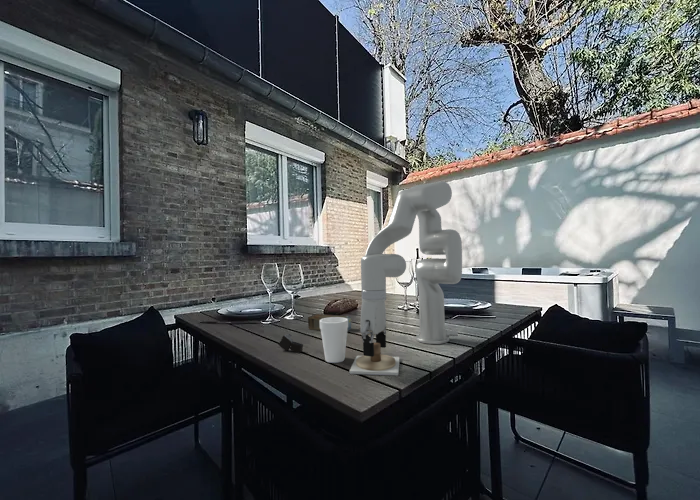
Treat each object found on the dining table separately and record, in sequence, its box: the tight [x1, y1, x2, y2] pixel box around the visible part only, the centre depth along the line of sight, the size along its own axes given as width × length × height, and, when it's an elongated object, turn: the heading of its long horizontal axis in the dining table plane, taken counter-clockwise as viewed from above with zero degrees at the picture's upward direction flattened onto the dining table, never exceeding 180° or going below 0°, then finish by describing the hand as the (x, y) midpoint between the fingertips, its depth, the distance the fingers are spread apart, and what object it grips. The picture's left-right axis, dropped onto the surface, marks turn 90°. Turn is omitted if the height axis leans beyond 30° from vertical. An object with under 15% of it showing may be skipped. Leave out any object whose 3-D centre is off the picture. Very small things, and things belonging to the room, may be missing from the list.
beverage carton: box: [307, 313, 352, 332], centre depth 153 cm, size 8×19×6 cm, turn 66°
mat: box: [349, 355, 401, 376], centre depth 102 cm, size 14×14×1 cm
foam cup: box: [320, 317, 348, 364], centre depth 110 cm, size 10×9×13 cm
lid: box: [356, 342, 396, 371], centre depth 102 cm, size 12×12×6 cm
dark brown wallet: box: [277, 333, 304, 354], centre depth 120 cm, size 9×2×6 cm
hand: (375, 351), depth 102 cm, fingers open, 9 cm apart
